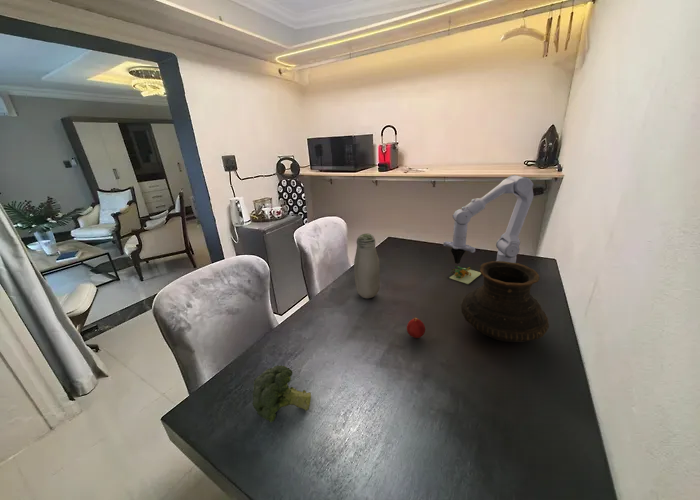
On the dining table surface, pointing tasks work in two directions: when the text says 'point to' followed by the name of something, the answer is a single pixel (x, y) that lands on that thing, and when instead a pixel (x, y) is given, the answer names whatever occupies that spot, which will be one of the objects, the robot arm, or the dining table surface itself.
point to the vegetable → (277, 393)
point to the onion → (416, 328)
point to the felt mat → (467, 277)
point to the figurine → (461, 272)
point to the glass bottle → (366, 267)
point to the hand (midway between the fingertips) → (457, 262)
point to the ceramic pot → (506, 304)
